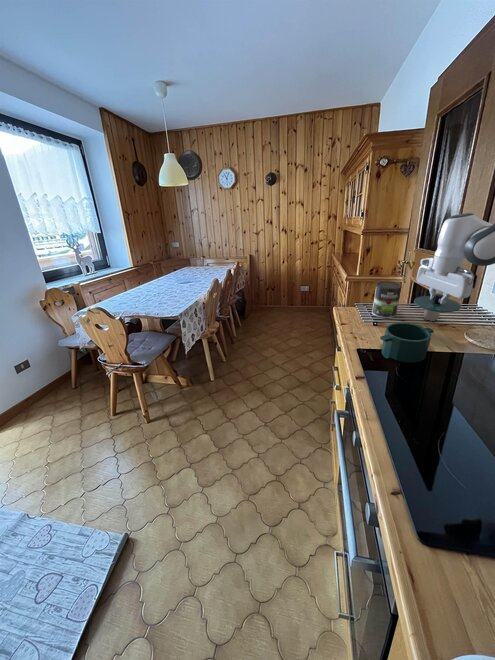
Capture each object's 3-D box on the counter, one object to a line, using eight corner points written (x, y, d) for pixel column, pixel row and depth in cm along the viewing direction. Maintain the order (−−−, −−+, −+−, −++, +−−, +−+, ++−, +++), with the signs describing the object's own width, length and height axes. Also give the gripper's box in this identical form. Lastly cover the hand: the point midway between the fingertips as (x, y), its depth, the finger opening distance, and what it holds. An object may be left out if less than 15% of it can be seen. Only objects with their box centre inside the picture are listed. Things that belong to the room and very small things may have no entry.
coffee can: (398, 319, 125) (404, 288, 119) (373, 318, 128) (378, 288, 121) (393, 309, 134) (399, 281, 128) (370, 309, 136) (374, 280, 130)
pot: (441, 360, 96) (448, 335, 92) (391, 370, 93) (397, 345, 88) (411, 341, 108) (416, 319, 103) (367, 350, 104) (370, 327, 100)
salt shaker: (434, 316, 125) (441, 288, 119) (440, 322, 120) (448, 293, 114) (420, 316, 126) (426, 289, 120) (426, 322, 121) (433, 293, 115)
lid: (470, 310, 99) (474, 299, 97) (435, 316, 97) (438, 305, 95) (436, 296, 112) (439, 286, 110) (404, 301, 109) (406, 291, 108)
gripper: (483, 270, 89) (470, 310, 95) (431, 257, 107) (423, 291, 113) (467, 273, 88) (454, 313, 94) (417, 258, 105) (409, 293, 112)
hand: (437, 301), depth 104 cm, fingers closed on lid, 2 cm apart
